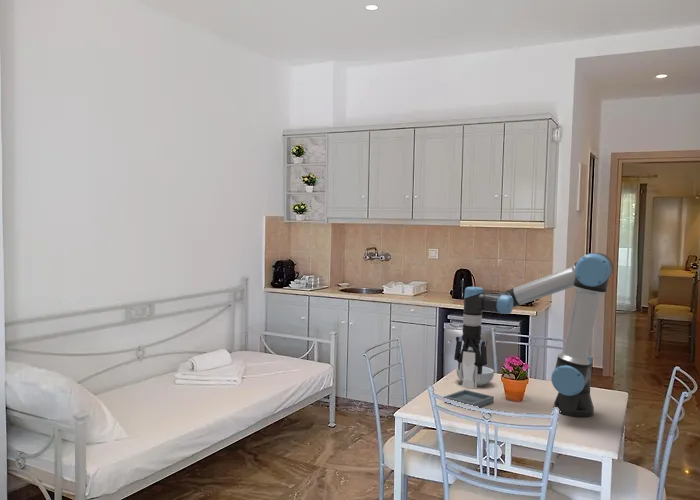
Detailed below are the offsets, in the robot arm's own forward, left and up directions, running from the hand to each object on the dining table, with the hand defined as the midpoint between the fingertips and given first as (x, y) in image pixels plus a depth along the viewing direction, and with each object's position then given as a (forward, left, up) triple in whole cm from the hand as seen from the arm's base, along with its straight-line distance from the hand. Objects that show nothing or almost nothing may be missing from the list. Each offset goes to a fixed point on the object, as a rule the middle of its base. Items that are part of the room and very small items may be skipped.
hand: (469, 379), depth 251 cm
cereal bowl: (+14, -28, -10) cm, 33 cm away
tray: (0, 0, -10) cm, 10 cm away
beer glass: (0, 0, -3) cm, 3 cm away
